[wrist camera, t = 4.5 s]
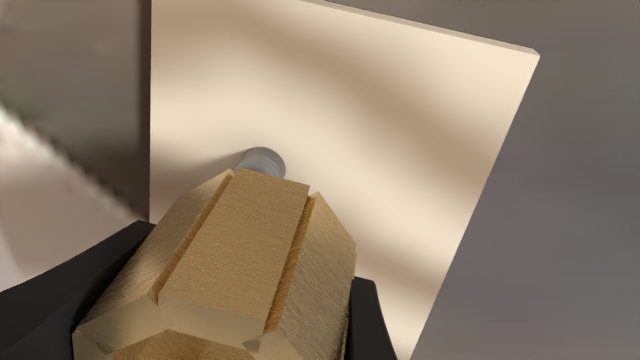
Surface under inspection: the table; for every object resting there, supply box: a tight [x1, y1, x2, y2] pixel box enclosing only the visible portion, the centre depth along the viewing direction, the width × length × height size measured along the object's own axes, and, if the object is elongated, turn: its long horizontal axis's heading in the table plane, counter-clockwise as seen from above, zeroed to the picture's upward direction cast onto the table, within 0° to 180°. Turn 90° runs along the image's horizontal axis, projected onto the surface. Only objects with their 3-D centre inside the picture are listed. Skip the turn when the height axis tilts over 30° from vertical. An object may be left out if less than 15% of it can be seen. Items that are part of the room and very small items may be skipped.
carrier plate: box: [149, 0, 540, 360], centre depth 22 cm, size 20×14×1 cm
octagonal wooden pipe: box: [72, 167, 358, 360], centre depth 12 cm, size 6×6×5 cm
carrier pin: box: [233, 147, 286, 179], centre depth 19 cm, size 2×2×4 cm
